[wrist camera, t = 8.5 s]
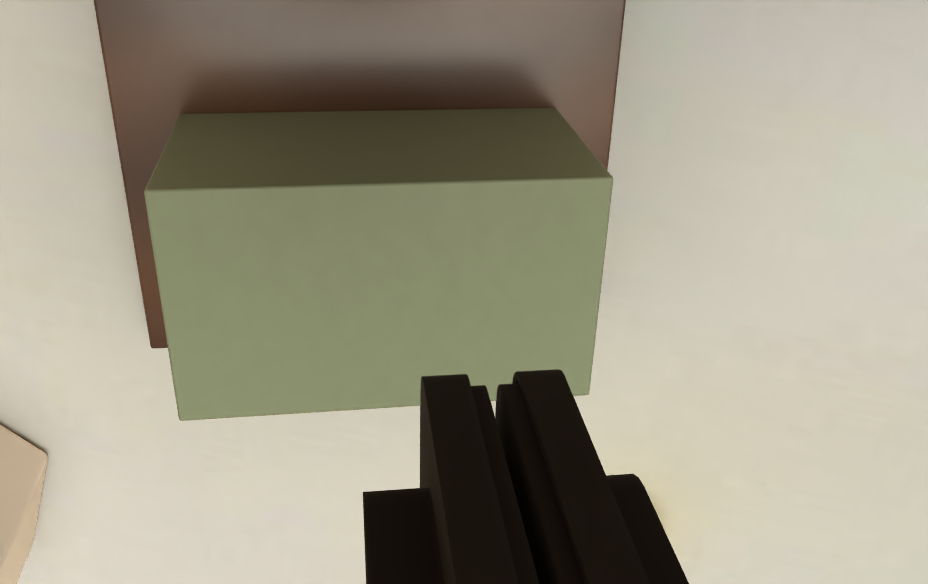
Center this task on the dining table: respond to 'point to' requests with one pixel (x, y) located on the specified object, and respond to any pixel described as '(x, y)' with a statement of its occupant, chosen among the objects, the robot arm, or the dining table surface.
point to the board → (344, 70)
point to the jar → (18, 501)
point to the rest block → (373, 255)
